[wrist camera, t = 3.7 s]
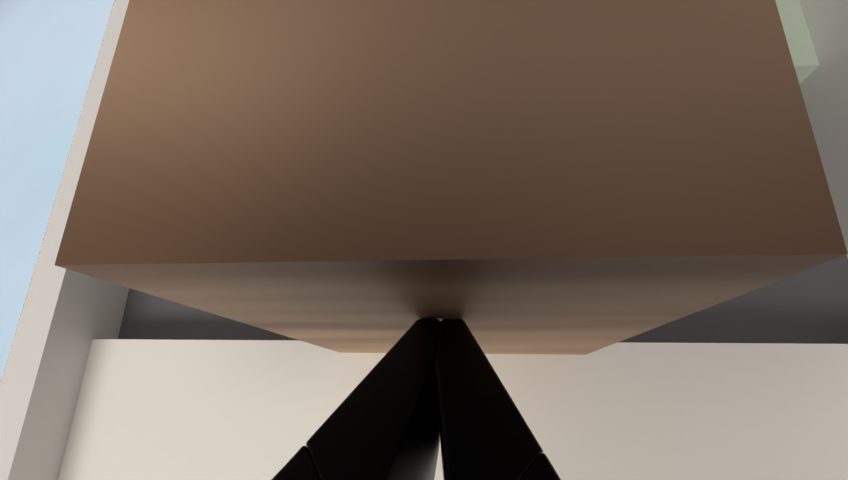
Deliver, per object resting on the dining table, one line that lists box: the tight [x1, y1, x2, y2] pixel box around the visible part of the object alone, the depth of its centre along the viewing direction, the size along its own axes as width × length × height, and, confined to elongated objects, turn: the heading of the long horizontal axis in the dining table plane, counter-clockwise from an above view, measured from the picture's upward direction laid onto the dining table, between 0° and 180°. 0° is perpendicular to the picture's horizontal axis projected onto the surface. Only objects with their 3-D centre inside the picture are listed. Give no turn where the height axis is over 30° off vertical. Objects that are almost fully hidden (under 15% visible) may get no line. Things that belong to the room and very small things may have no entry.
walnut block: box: [55, 0, 848, 355], centre depth 11 cm, size 9×8×11 cm
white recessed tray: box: [0, 0, 848, 480], centre depth 15 cm, size 34×29×3 cm
